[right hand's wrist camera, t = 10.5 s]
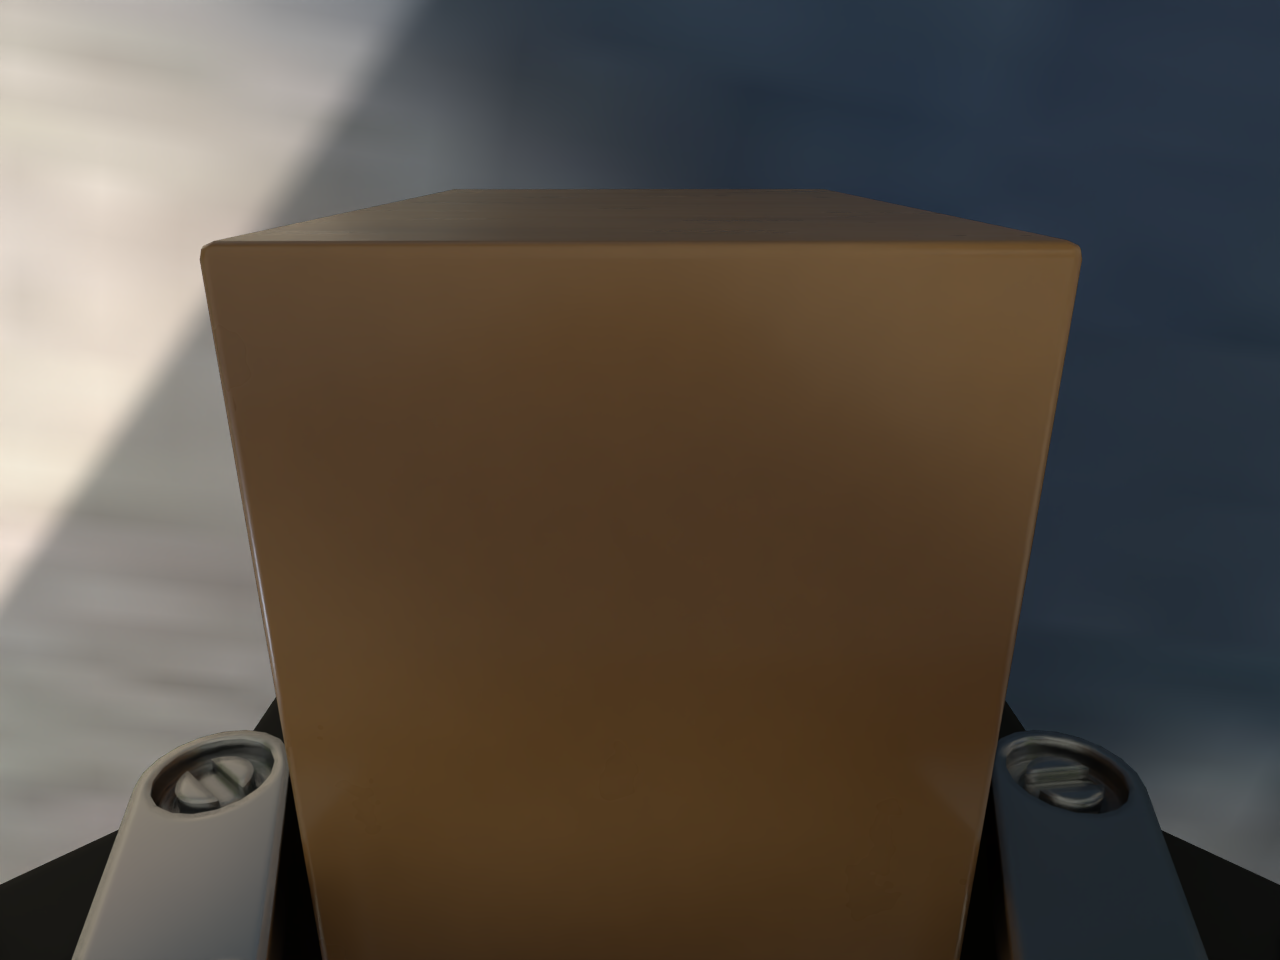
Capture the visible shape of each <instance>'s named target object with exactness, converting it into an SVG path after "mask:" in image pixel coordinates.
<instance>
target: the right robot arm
mask: <svg viewBox="0 0 1280 960" xmlns="http://www.w3.org/2000/svg"><path fill="white" fill-rule="evenodd" d="M0 960H322V955H321V949H320V944H319V938H318V932H317V927H316V921H315V915H314V909H313V904H312V898H311V892H310V887H309V881H308V875H307V869H306V864H305V858H304V852H303V847H302V841H301V835H300V829H299V824H298V818H297V812H296V807H295V801H294V795H293V789H292V784H291V778H290V772H289V767H288V761H287V755H286V749H285V744H284V738H283V732H282V727H281V721H280V715H279V709H278V704H277V698H275V699H274V701H273V702H272V704H271V705H270V707H269V708H268V710H267V711H266V713H265V714H264V716H263V717H262V719H261V720H260V722H259V723H258V725H257V726H256V728H255V729H254V731H249V730H241V731H228V732H221V733H217V734H213V735H209V736H205V737H201V738H198V739H196V740H194V741H191V742H189V743H186V744H184V745H181V746H179V747H177V748H176V749H174V750H172V751H171V752H169V753H167V754H166V755H164V756H162V757H161V758H159V759H158V760H157V761H156V762H155V763H154V764H152V765H151V766H150V767H149V768H148V769H147V770H146V771H145V772H144V773H143V774H142V776H141V777H140V779H139V781H138V782H137V784H136V786H135V787H134V790H133V792H132V795H131V798H130V801H129V803H128V806H127V809H126V812H125V814H124V817H123V820H122V823H121V825H120V828H119V830H117V831H115V832H113V833H111V834H109V835H106V836H104V837H102V838H100V839H98V840H96V841H93V842H91V843H89V844H87V845H85V846H83V847H81V848H78V849H76V850H74V851H72V852H70V853H68V854H65V855H63V856H61V857H59V858H57V859H55V860H52V861H50V862H48V863H46V864H44V865H42V866H40V867H37V868H35V869H33V870H31V871H29V872H27V873H24V874H22V875H20V876H18V877H16V878H14V879H12V880H9V881H7V882H5V883H3V884H1V885H0ZM960 960H1280V885H1279V884H1276V883H1274V882H1272V881H1270V880H1268V879H1266V878H1263V877H1261V876H1259V875H1257V874H1255V873H1253V872H1251V871H1248V870H1246V869H1244V868H1242V867H1240V866H1238V865H1235V864H1233V863H1231V862H1229V861H1227V860H1225V859H1222V858H1220V857H1218V856H1216V855H1214V854H1212V853H1210V852H1207V851H1205V850H1203V849H1201V848H1199V847H1197V846H1194V845H1192V844H1190V843H1188V842H1186V841H1184V840H1181V839H1179V838H1177V837H1175V836H1173V835H1171V834H1169V833H1166V832H1164V831H1162V830H1161V828H1160V825H1159V823H1158V820H1157V817H1156V814H1155V812H1154V809H1153V806H1152V803H1151V801H1150V798H1149V795H1148V792H1147V790H1146V787H1145V786H1144V784H1143V782H1142V781H1141V779H1140V777H1139V776H1138V774H1137V773H1136V772H1135V771H1134V770H1133V769H1132V768H1131V767H1130V766H1129V765H1128V764H1126V763H1125V762H1124V761H1123V760H1122V759H1121V758H1119V757H1118V756H1116V755H1114V754H1113V753H1111V752H1109V751H1108V750H1106V749H1104V748H1103V747H1101V746H1099V745H1096V744H1094V743H1091V742H1089V741H1086V740H1084V739H1082V738H1079V737H1075V736H1071V735H1067V734H1063V733H1059V732H1052V731H1039V730H1031V731H1025V729H1024V728H1023V726H1022V725H1021V723H1020V722H1019V720H1018V719H1017V717H1016V716H1015V714H1014V713H1013V711H1012V710H1011V708H1010V707H1009V705H1008V704H1007V702H1006V701H1005V703H1004V709H1003V714H1002V720H1001V726H1000V731H999V737H998V743H997V749H996V754H995V760H994V766H993V772H992V777H991V783H990V789H989V794H988V800H987V806H986V812H985V817H984V823H983V829H982V835H981V840H980V846H979V852H978V857H977V863H976V869H975V875H974V880H973V886H972V892H971V898H970V903H969V909H968V915H967V920H966V926H965V932H964V938H963V943H962V949H961V955H960Z"/></svg>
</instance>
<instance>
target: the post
mask: <svg viewBox="0 0 1280 960" xmlns="http://www.w3.org/2000/svg"><path fill="white" fill-rule="evenodd" d="M1081 262H1082V255H1081V249H1080V247H1079V245H1077V244H1075V243H1072V242H1070V241H1068V240H1064V239H1059V238H1054V237H1049V236H1045V235H1040V234H1035V233H1030V232H1026V231H1021V230H1016V229H1011V228H1007V227H1002V226H997V225H992V224H988V223H983V222H978V221H973V220H968V219H964V218H959V217H954V216H949V215H945V214H940V213H935V212H930V211H926V210H921V209H916V208H911V207H907V206H902V205H897V204H892V203H887V202H883V201H878V200H873V199H868V198H864V197H859V196H854V195H849V194H845V193H840V192H835V191H830V190H826V189H453V190H449V191H444V192H440V193H435V194H430V195H426V196H421V197H416V198H412V199H407V200H402V201H398V202H393V203H388V204H384V205H379V206H375V207H370V208H365V209H361V210H356V211H351V212H347V213H342V214H337V215H333V216H328V217H323V218H319V219H314V220H310V221H305V222H300V223H296V224H291V225H286V226H282V227H277V228H272V229H268V230H263V231H258V232H254V233H249V234H245V235H240V236H235V237H231V238H226V239H221V240H217V241H213V242H211V243H209V244H207V245H205V246H203V247H202V249H201V255H200V264H201V269H202V275H203V281H204V286H205V292H206V298H207V304H208V309H209V315H210V321H211V326H212V332H213V338H214V344H215V349H216V355H217V361H218V366H219V372H220V378H221V384H222V389H223V395H224V401H225V406H226V412H227V418H228V424H229V429H230V435H231V441H232V446H233V452H234V458H235V464H236V469H237V475H238V481H239V486H240V492H241V498H242V504H243V509H244V515H245V521H246V526H247V532H248V538H249V544H250V549H251V555H252V561H253V566H254V572H255V578H256V584H257V589H258V595H259V601H260V607H261V612H262V618H263V624H264V629H265V635H266V641H267V647H268V652H269V658H270V664H271V669H272V675H273V681H274V687H275V692H276V698H277V704H278V709H279V715H280V721H281V727H282V732H283V738H284V744H285V749H286V755H287V761H288V767H289V772H290V778H291V784H292V789H293V795H294V801H295V807H296V812H297V818H298V824H299V829H300V835H301V841H302V847H303V852H304V858H305V864H306V869H307V875H308V881H309V887H310V892H311V898H312V904H313V909H314V915H315V921H316V927H317V932H318V938H319V944H320V949H321V955H322V960H960V955H961V949H962V943H963V938H964V932H965V926H966V920H967V915H968V909H969V903H970V898H971V892H972V886H973V880H974V875H975V869H976V863H977V857H978V852H979V846H980V840H981V835H982V829H983V823H984V817H985V812H986V806H987V800H988V794H989V789H990V783H991V777H992V772H993V766H994V760H995V754H996V749H997V743H998V737H999V731H1000V726H1001V720H1002V714H1003V709H1004V703H1005V697H1006V691H1007V686H1008V680H1009V674H1010V668H1011V663H1012V657H1013V651H1014V646H1015V640H1016V634H1017V628H1018V623H1019V617H1020V611H1021V605H1022V600H1023V594H1024V588H1025V583H1026V577H1027V571H1028V565H1029V560H1030V554H1031V548H1032V542H1033V537H1034V531H1035V525H1036V520H1037V514H1038V508H1039V502H1040V497H1041V491H1042V485H1043V479H1044V474H1045V468H1046V462H1047V457H1048V451H1049V445H1050V439H1051V434H1052V428H1053V422H1054V416H1055V411H1056V405H1057V399H1058V394H1059V388H1060V382H1061V376H1062V371H1063V365H1064V359H1065V353H1066V348H1067V342H1068V336H1069V331H1070V325H1071V319H1072V313H1073V308H1074V302H1075V296H1076V290H1077V285H1078V279H1079V273H1080V267H1081Z"/></svg>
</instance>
